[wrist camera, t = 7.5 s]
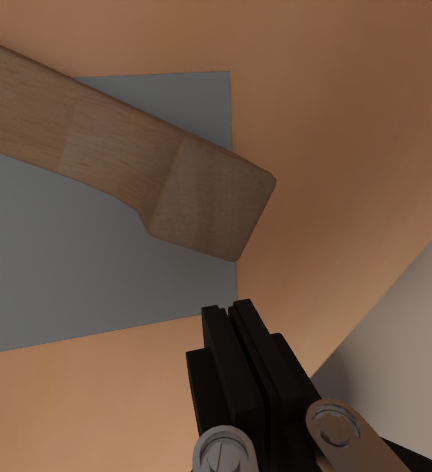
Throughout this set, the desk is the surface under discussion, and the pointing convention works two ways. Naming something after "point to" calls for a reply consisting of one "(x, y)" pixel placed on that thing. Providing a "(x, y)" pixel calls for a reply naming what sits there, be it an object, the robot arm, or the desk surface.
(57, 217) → the mat
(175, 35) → the desk surface
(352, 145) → the desk surface
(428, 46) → the desk surface
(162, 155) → the wooden block
